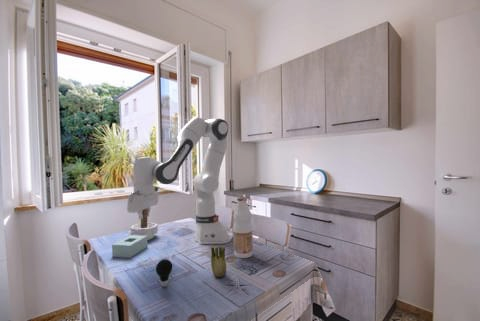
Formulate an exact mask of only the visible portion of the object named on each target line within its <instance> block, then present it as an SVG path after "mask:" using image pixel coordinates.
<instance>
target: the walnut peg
mask: <svg viewBox="0 0 480 321" xmlns="http://www.w3.org/2000/svg"><path fill="white" fill-rule="evenodd" d="M142 214H143V215H144V218H143V219H140V223H141V228H147V223H148V217H147V208H146V209H144V210H143V212H142Z"/></svg>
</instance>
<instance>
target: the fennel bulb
mask: <svg viewBox="0 0 480 321" xmlns="http://www.w3.org/2000/svg"><path fill="white" fill-rule="evenodd" d="M210 253H211V258H210V260H211V262H210V263H211V264H210V265H211V271H212V273H213V275H214V277H215V278H223V277H224V276H225V275H227V274H226V273H227V261H226V256H225V255H226V246H222V245H218V246H211V247H210Z"/></svg>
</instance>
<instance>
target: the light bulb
mask: <svg viewBox="0 0 480 321" xmlns="http://www.w3.org/2000/svg"><path fill="white" fill-rule="evenodd" d="M172 271H173V264H172V261H170V260H169V259H165V258H164V259H161V260H159V262H158V263H157V264H156V267H155V272H156V274H157V275H158V276H159V279H160V286H161V287H164V288H166V287H167V286H169V279H170V278H169V277H170V274H171V272H172Z"/></svg>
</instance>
